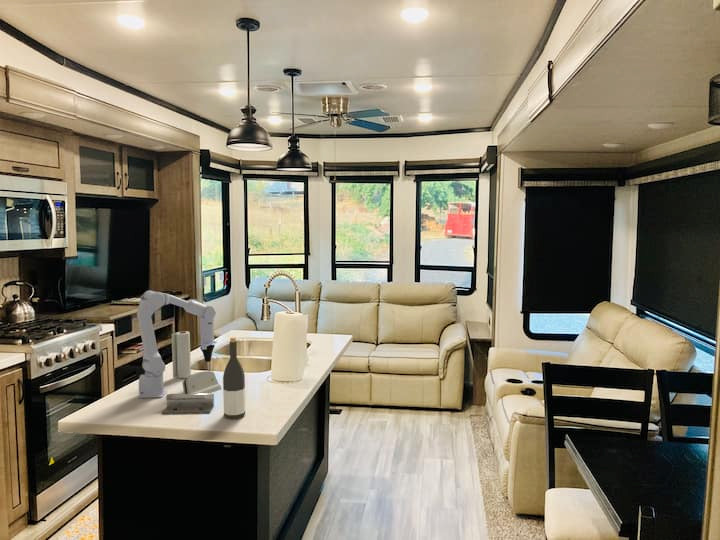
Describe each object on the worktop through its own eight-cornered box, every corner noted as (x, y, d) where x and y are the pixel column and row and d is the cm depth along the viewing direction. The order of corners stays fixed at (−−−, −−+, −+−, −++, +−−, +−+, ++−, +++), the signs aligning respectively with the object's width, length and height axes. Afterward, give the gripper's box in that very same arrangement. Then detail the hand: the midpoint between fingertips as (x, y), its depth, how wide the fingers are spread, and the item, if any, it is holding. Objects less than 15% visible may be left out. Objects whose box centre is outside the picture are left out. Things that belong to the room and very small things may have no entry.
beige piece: (192, 399, 226) (186, 376, 227) (185, 401, 229) (178, 378, 229) (222, 388, 240) (216, 366, 241) (215, 390, 243) (209, 368, 244)
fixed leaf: (162, 414, 210) (161, 400, 209) (168, 406, 218) (168, 393, 217) (209, 413, 211) (209, 399, 210) (214, 405, 219) (213, 392, 218)
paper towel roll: (193, 375, 261) (191, 331, 259) (187, 379, 255) (186, 333, 253) (178, 374, 262) (177, 330, 260) (173, 378, 256) (171, 333, 254)
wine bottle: (225, 420, 203) (223, 341, 200) (222, 413, 210) (220, 336, 207) (247, 417, 206) (246, 339, 203) (243, 410, 214) (241, 334, 211)
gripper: (212, 335, 240) (213, 365, 241) (219, 328, 254) (220, 357, 256) (196, 335, 239) (197, 365, 241) (204, 328, 254) (204, 357, 255)
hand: (208, 361), depth 248 cm, fingers closed
